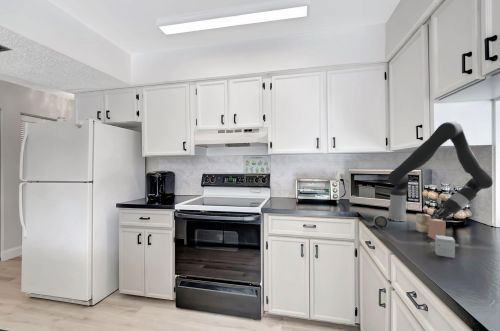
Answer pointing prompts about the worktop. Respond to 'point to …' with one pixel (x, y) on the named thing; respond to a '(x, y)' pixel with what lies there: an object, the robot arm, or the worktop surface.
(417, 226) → the key one
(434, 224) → the key two
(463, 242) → the worktop surface
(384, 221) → the ceramic mug
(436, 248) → the product box
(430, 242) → the keypad board
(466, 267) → the worktop surface
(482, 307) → the worktop surface
